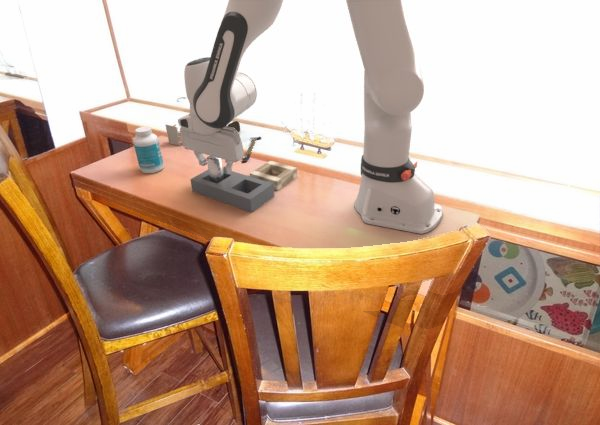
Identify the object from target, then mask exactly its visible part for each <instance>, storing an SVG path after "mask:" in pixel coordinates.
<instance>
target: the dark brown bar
mask: <svg viewBox="0 0 600 425" xmlns="http://www.w3.org/2000/svg"><path fill="white" fill-rule="evenodd" d="M240 125H241V124H240V123H239V121H238V120H235V121H233V122H232V121H231V122H230V123H229V124H228V125H227V126H228V127H234V128H235V130H237V132H239V133H240V131H241V126H240Z"/></svg>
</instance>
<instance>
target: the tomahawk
mask: <svg viewBox="0 0 600 425" xmlns="http://www.w3.org/2000/svg"><path fill="white" fill-rule="evenodd" d="M261 139H262V137H261V136H258V137H256V136H255V137H250V145H249V147H248V149H247V151H246V153H245V155H244V157H243V158H242V159H241V160H242V162H247V161H248V160H249V159H250V157H251V155H252V152H251V151H253V150H252V149H254V147H255V144H256V142H257V141H259V140H261ZM255 141H256V142H255ZM253 146H254V147H253Z"/></svg>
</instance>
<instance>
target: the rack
mask: <svg viewBox="0 0 600 425" xmlns="http://www.w3.org/2000/svg"><path fill="white" fill-rule="evenodd" d="M223 174H224V180H223V181H221V182H219V183H218V184H217V183H214V182H210V176H209V170H208V169H206V170H204V171H203V172H201V173H199V174H198V175H195V176H194V177H192V178H191V179H190V180H189V182H190V185H191V190H192V193H194V194H198V195H201V196H204V197H206V198H209V199H212V200H216V201H218V202H221V203H222V204H223V203H224V204H227V205H230V206H232V207H234V208H238V209H241V210H242V211H243V210H244V211H246V212H249V213H253V212H255V211H256V210H258V209H259V208H260V207H262V206H263V205H264V204H266V203H267V202H268V201H270V200H272V198H274V197H275V190H274V184H273V183H270V182H267V181H263V180H260V179H257V178H253V177H250V175H247V174H243V173H240V172H236V171H234V170H232V172H231V173H229V174H228V173H225V172H224V169H223Z"/></svg>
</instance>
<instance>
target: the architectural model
mask: <svg viewBox="0 0 600 425" xmlns="http://www.w3.org/2000/svg"><path fill="white" fill-rule="evenodd" d="M165 130H166V134H167V139H168V142H169V144H170V145H175V146H178V147H181V143H180V139H181V135H180V130H178V127H177V124H174V125H170V124H165Z"/></svg>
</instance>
